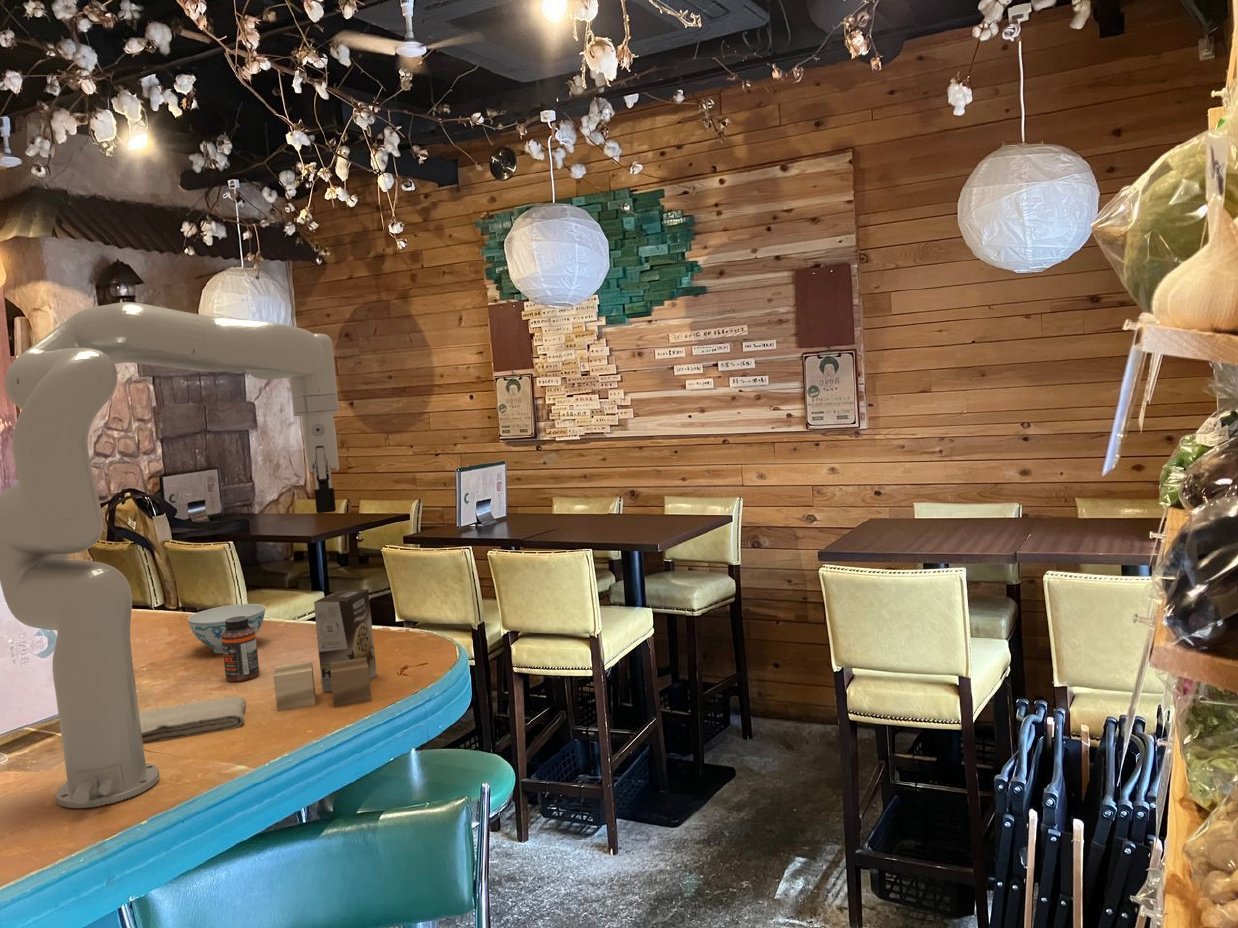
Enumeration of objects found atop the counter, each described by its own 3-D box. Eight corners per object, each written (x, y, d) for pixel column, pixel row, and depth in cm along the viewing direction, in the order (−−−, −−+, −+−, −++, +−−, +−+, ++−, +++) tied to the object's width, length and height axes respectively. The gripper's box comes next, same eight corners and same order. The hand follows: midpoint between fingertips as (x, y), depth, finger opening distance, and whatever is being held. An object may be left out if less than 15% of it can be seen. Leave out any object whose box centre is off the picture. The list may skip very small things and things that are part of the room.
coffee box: (355, 692, 169) (346, 600, 168) (321, 692, 170) (311, 601, 169) (378, 675, 178) (369, 588, 176) (346, 675, 179) (336, 589, 178)
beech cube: (315, 705, 164) (311, 670, 163) (277, 711, 162) (273, 676, 162) (315, 694, 170) (311, 660, 169) (279, 700, 168) (275, 666, 167)
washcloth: (132, 726, 162) (129, 708, 161) (247, 706, 167) (245, 689, 167) (120, 751, 150) (117, 732, 150) (244, 729, 156) (242, 710, 156)
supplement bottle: (218, 681, 182) (211, 621, 181) (244, 671, 187) (237, 613, 186) (241, 683, 179) (234, 623, 178) (266, 673, 184) (260, 614, 183)
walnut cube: (371, 701, 164) (368, 666, 163) (334, 707, 162) (330, 672, 161) (369, 691, 169) (366, 657, 169) (333, 696, 168) (330, 662, 167)
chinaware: (192, 647, 209) (187, 611, 208) (266, 634, 215) (262, 600, 214) (191, 664, 195) (187, 626, 194) (271, 650, 201) (267, 613, 200)
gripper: (339, 405, 163) (349, 514, 164) (337, 404, 177) (347, 505, 179) (291, 408, 161) (302, 519, 162) (294, 407, 175) (304, 509, 176)
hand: (326, 511), depth 170 cm, fingers closed
